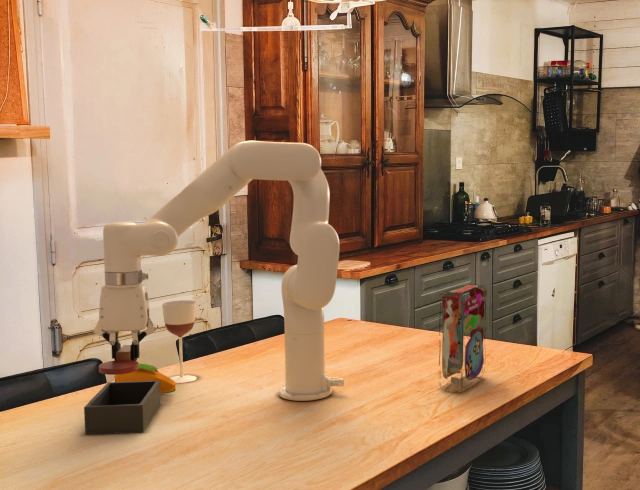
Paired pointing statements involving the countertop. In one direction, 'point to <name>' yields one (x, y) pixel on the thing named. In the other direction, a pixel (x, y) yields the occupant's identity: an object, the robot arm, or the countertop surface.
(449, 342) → the box
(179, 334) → the wineglass
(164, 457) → the countertop surface
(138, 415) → the bin
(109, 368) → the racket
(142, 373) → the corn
